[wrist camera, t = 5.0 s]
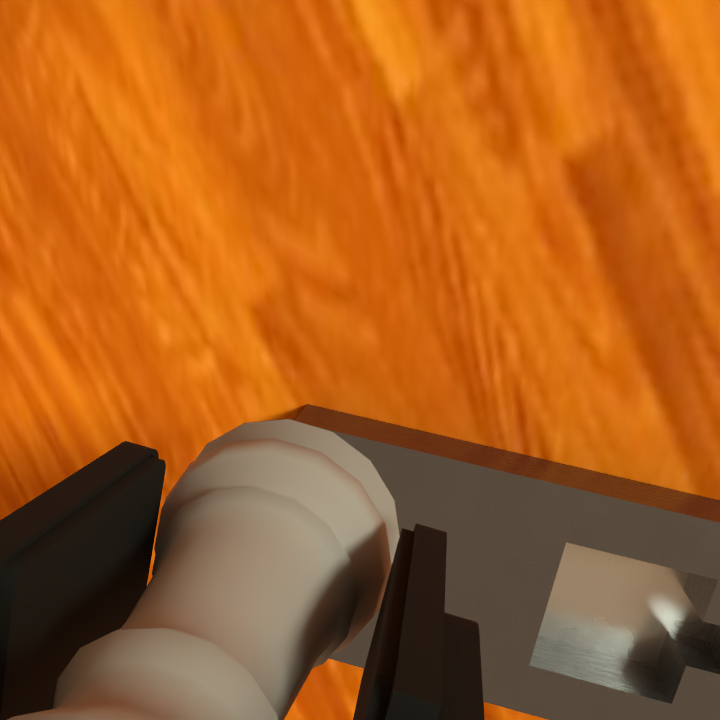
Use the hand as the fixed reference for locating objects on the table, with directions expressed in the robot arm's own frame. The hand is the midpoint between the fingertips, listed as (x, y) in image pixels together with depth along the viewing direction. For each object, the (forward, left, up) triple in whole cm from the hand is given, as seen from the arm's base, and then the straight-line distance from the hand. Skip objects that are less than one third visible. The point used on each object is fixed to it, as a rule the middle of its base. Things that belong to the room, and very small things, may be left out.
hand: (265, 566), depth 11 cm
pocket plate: (+7, +9, -15) cm, 20 cm away
